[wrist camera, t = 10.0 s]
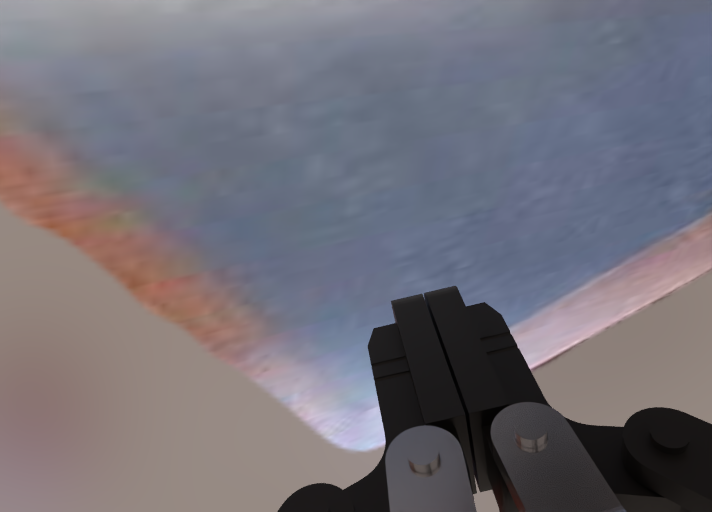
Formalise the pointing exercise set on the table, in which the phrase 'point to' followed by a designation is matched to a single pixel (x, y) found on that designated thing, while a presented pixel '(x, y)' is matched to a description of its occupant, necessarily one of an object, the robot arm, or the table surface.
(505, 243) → the table surface
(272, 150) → the table surface
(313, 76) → the table surface
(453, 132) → the table surface
